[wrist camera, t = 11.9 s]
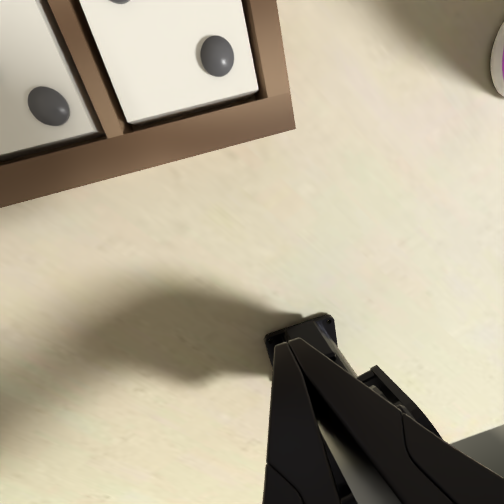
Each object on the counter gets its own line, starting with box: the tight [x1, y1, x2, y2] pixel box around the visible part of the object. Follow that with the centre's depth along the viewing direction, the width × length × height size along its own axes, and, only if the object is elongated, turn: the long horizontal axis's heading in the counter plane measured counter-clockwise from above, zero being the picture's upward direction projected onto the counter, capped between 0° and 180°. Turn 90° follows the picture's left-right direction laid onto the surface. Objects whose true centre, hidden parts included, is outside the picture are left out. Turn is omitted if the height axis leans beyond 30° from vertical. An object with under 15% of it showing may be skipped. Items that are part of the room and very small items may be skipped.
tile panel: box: [0, 0, 296, 208], centre depth 12 cm, size 10×24×4 cm, turn 103°
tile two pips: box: [79, 0, 258, 127], centre depth 11 cm, size 6×6×3 cm
